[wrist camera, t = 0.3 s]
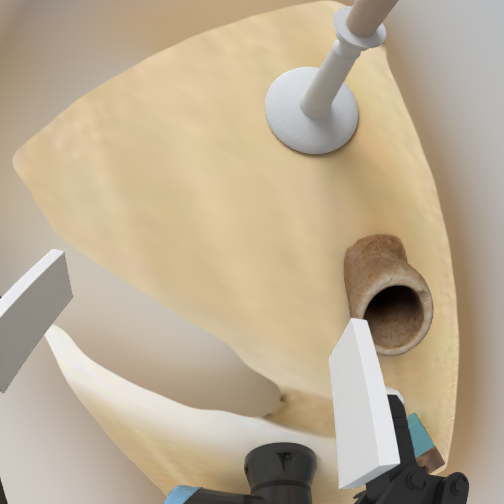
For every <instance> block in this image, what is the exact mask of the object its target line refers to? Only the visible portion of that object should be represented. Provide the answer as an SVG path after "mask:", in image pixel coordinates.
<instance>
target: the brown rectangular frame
mask: <svg viewBox="0 0 504 504" xmlns="http://www.w3.org/2000/svg"><path fill="white" fill-rule="evenodd" d="M416 462H417V464H418V466H420V467H423V466H424V467H425V469H426V471H427V473H428V474H430V473H432V472H433V471H435V470H436V469H438V468H440V467H441V466H443V465H444V464H445V462H444V460H443V459H442V457H441V455H440V453H439V452H438V450H437V448H436V447H435V446H434V447H432V448H431V449H429V450H428V451H426V452H425V453H423V454H421V455H420V456H418V457H417V458H416Z"/></svg>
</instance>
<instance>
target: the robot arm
mask: <svg viewBox="0 0 504 504" xmlns="http://www.w3.org/2000/svg"><path fill="white" fill-rule="evenodd" d="M72 298H73V295H72V290H71V286H70V280H69V275H68V270H67V264H66V259H65V252H63V251H60V250H56V249H52V250H51V251H50V252H48V253H47V254H46V255H45V256H44V257H43V258H42V259H41V260H40V261H39V262H37V263H36V264H35V265H34V266H33V267H32V268H31V269H30V270H29V271H28V272H27V273H26V274H25V275H24V276H23V277H21V278H20V279H19V280H18V281H17V282H16V283H15V285H13V287H11V288H10V289H9V290H8V291H7V293H5V294H4V296H3V297H1V296H0V391H1V392H2V393H5V391H6V390H7V388H8V386H9V385H10V383H11V382H12V380H13V379H14V377H15V375H16V374H17V372H18V371H19V369H20V368H21V366H22V365H23V363H24V362H25V361H26V359H27V357H28V356H29V355H30V353H31V352H32V351H33V349H34V348H35V346H36V345H37V344H38V342H39V340H40V339H41V338H42V337H43V335H44V334H45V333H46V331H47V330H48V329H49V327H50V326H51V325H52V323H53V322H54V320H55V319H56V318H57V317H58V316H59V314H60V313H61V312H62V311H63V309H64V308H65V307H66V306H67V304H68V303H69V302H70V301H71V299H72ZM329 368H330V376H331V386H332V395H333V406H334V417H335V429H336V443H337V458H338V478H339V489H350V488H358V487H360V486H362V485H364V484H366V490H364V491H362V492H360V493H358V494H356V495H355V496H354V497H353V498H354V499H356V498H358V497H359V498H358V500H357V501H356V502H355V503H354V504H466V502H467V497H468V491H469V483H468V480H467V478H466V476H465V475H464V474H462V473H460V472H455V473H453V474H451V475H449V476H447V477H441V476H434V475H429V474H427V472H426V470H425V469H424V468H422V467H420V466H418V464H417V462H416V458H415V453H414V448H413V443H412V439H411V434H410V429H409V428H408V426H409V425H408V421H407V419H406V412H405V408H404V405H403V403H402V402H401V400H400V399H399V397H398V396H397V395H392V394H387V393H386V389H385V385H384V381H383V377H382V373H381V369H380V365H379V361H378V358H377V354H376V350H375V347H374V343H373V340H372V336H371V333H370V329H369V326H368V322H367V320H362V319H356V318H351V319H350V321H349V323H348V325H347V327H346V329H345V330H344V332H343V334H342V336H341V338H340V339H339V341H338V343H337V345H336V347H335V348H334V350H333V352H332V353H331V355H330V357H329ZM316 467H317V463H316V456H315V454H314V452H313V451H312V450H311V449H309V448H307V447H305V446H303V445H299V444H295V443H272V444H267V445H263V446H260V447H258V448H256V449H254V450H252V451H251V452H250V453H249V454H248V455H247V456H246V458H245V464H244V471H245V474H246V477H247V480H248V483H249V485H250V488H251V495H244V494H236V493H228V492H221V491H215V490H209V489H204V488H203V487H192V486H186V485H179V486H176V487H175V488H174V489H173V490H172V491H171V492H170V493H169V495H168V496H167V498H166V500H165V502H164V504H312V497H311V484H312V481H313V477H314V474H315V471H316ZM0 504H8V503H7V500H6V497H5V493H4V490H3V486H2V483H1V479H0Z"/></svg>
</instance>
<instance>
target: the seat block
mask: <svg viewBox="0 0 504 504" xmlns="http://www.w3.org/2000/svg"><path fill="white" fill-rule="evenodd" d="M406 419H407V421H408V425H409V426H408V428H409V429H410V434H411V439H412V443H413V448H414V453H415V458H417V457H418V456H420V455H421V454H423V453H425V452H426V451H428V450H429V449H431V448H432V447H434V444H433V442H432V440H431V438H430V437H429V435H428V433H427V432H426V430H425V428H424V427H423V425H422V423H421V422H420V420H419V419H418V417H417V415H416V414H415V413H413V414H412V415H410V416H409V417H407V418H406Z"/></svg>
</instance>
